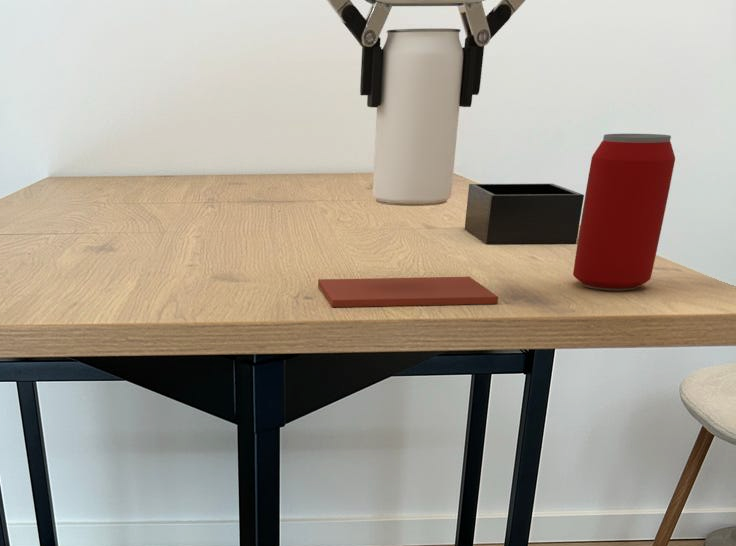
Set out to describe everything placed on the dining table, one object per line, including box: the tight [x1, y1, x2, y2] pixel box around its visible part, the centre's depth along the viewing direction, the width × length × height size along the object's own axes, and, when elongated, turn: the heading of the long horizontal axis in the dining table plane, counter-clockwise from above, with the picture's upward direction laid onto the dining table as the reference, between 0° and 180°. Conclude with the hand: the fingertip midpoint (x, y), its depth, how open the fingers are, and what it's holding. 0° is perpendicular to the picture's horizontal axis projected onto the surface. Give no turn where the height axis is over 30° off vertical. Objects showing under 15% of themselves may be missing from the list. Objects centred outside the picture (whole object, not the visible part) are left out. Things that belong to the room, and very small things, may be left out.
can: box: [372, 28, 463, 207], centre depth 75 cm, size 6×6×12 cm
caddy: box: [464, 183, 585, 245], centre depth 109 cm, size 12×10×5 cm
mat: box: [317, 276, 499, 308], centre depth 81 cm, size 14×9×1 cm, turn 94°
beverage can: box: [572, 133, 676, 292], centre depth 82 cm, size 7×7×12 cm
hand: (418, 104), depth 74 cm, fingers closed on can, 6 cm apart
